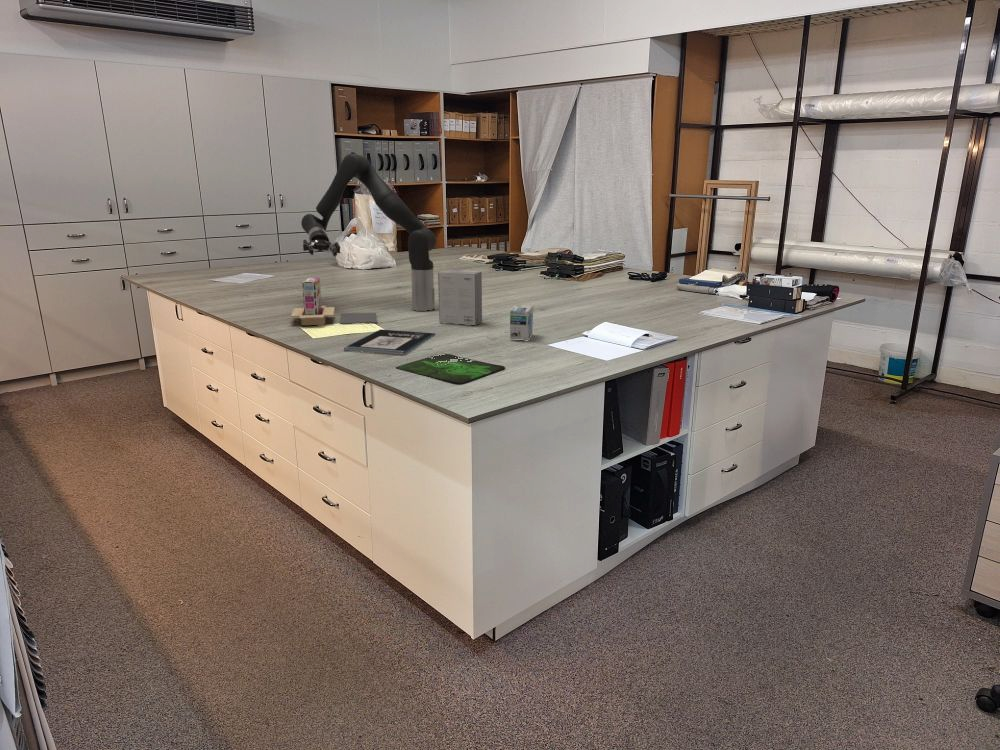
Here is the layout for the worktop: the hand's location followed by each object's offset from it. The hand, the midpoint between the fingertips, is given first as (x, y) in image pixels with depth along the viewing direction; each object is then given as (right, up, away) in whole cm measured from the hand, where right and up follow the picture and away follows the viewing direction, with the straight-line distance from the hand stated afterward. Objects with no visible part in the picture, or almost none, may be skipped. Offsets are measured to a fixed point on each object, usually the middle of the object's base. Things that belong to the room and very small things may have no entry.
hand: (323, 253), depth 265 cm
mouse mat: (+54, -46, -60) cm, 93 cm away
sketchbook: (+32, -37, -32) cm, 58 cm away
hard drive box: (+54, -28, -1) cm, 60 cm away
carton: (-3, -27, -2) cm, 27 cm away
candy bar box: (-3, -27, -2) cm, 27 cm away
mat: (+13, -25, +4) cm, 29 cm away
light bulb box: (+77, -34, -23) cm, 87 cm away
